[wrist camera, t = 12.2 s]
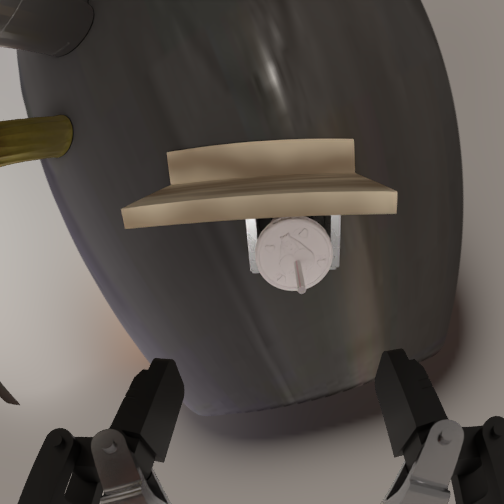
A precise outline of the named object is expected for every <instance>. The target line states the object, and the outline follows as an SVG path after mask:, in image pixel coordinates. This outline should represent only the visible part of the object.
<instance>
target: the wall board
mask: <svg viewBox="0 0 504 504" xmlns="http://www.w3.org/2000/svg"><path fill="white" fill-rule="evenodd" d="M167 159H168V167H169V175H170V182H171V185H170V186H168V187H165V188H163V189H161V190H159V191H157V192H155V193H152V194H150V195H148V196H146V197H144V198H142V199H140V200H138V201H136V202H134V203H132V204H130V205H128V206H126V207H124V208H122V209H121V211H122V216H123V221H124V226H125V229H131V228H141V227H151V226H162V225H174V224H186V223H199V222H212V221H226V220H242V219H259V218H277V217H298V216H323V215H355V214H396V211H397V191H395V190H393V189H391V188H388V187H386V186H384V185H382V184H379V183H377V182H375V181H373V180H370V179H368V178H365V177H363V176H361V175H358V174H356V173H355V154H354V139H289V140H270V141H255V142H244V143H233V144H224V145H215V146H207V147H199V148H192V149H185V150H179V151H173V152H167Z"/></svg>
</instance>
